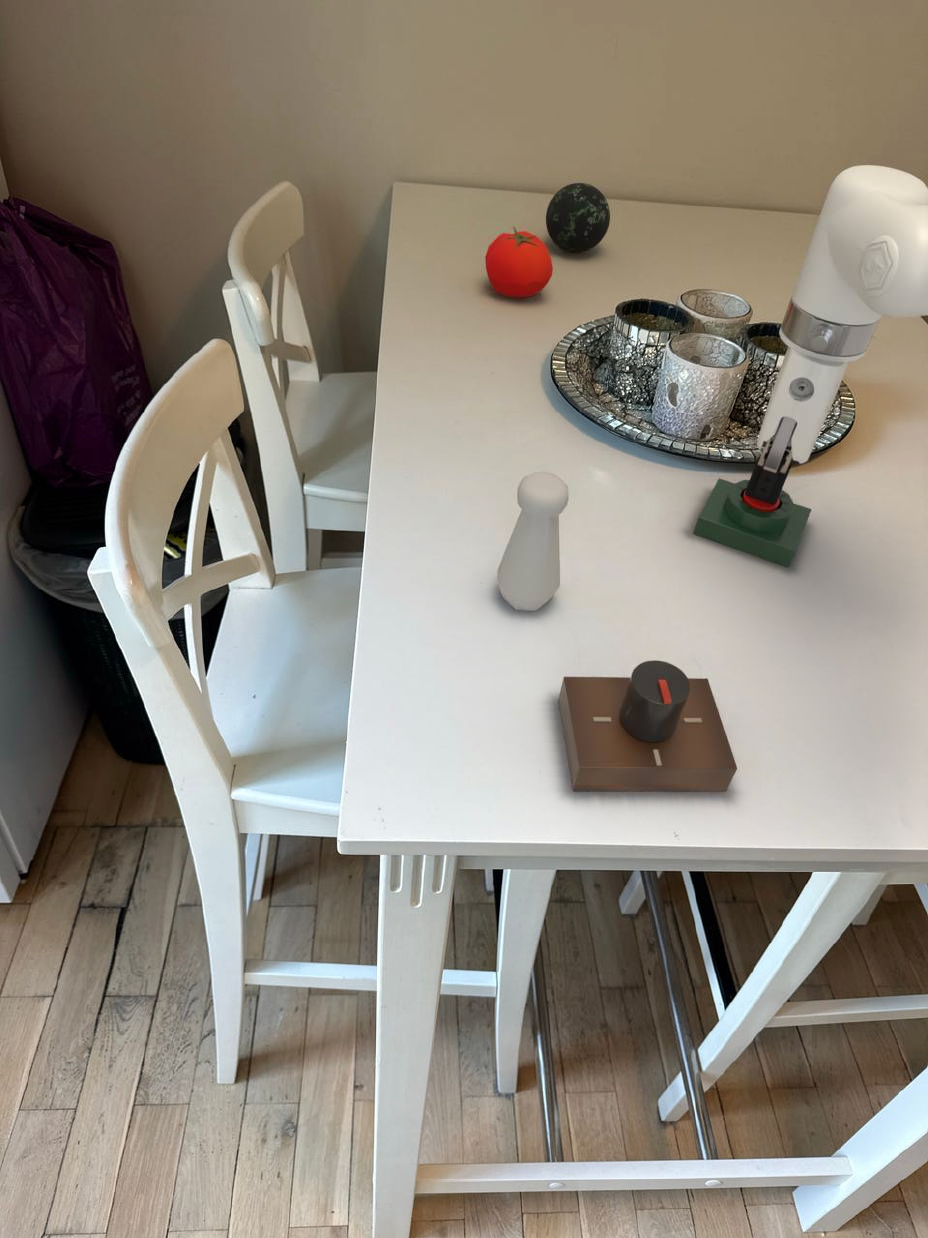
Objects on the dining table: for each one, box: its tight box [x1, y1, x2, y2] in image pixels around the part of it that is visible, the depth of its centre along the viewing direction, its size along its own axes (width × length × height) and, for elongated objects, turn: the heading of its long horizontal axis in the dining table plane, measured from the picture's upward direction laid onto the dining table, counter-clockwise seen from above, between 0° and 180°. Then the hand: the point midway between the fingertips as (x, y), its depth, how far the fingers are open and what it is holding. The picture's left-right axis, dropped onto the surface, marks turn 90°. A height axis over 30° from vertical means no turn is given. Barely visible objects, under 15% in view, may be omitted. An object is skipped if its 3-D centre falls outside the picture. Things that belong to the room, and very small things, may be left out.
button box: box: [692, 478, 812, 568], centre depth 91 cm, size 10×8×4 cm
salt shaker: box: [496, 471, 569, 612], centre depth 77 cm, size 6×6×13 cm
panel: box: [557, 676, 738, 792], centre depth 69 cm, size 12×9×3 cm
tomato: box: [484, 225, 554, 299], centre depth 126 cm, size 9×10×8 cm
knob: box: [620, 659, 691, 743], centre depth 67 cm, size 4×4×5 cm
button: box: [742, 490, 780, 512], centre depth 90 cm, size 4×4×2 cm
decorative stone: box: [545, 182, 611, 254], centre depth 138 cm, size 10×10×10 cm
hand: (761, 496), depth 89 cm, fingers closed
